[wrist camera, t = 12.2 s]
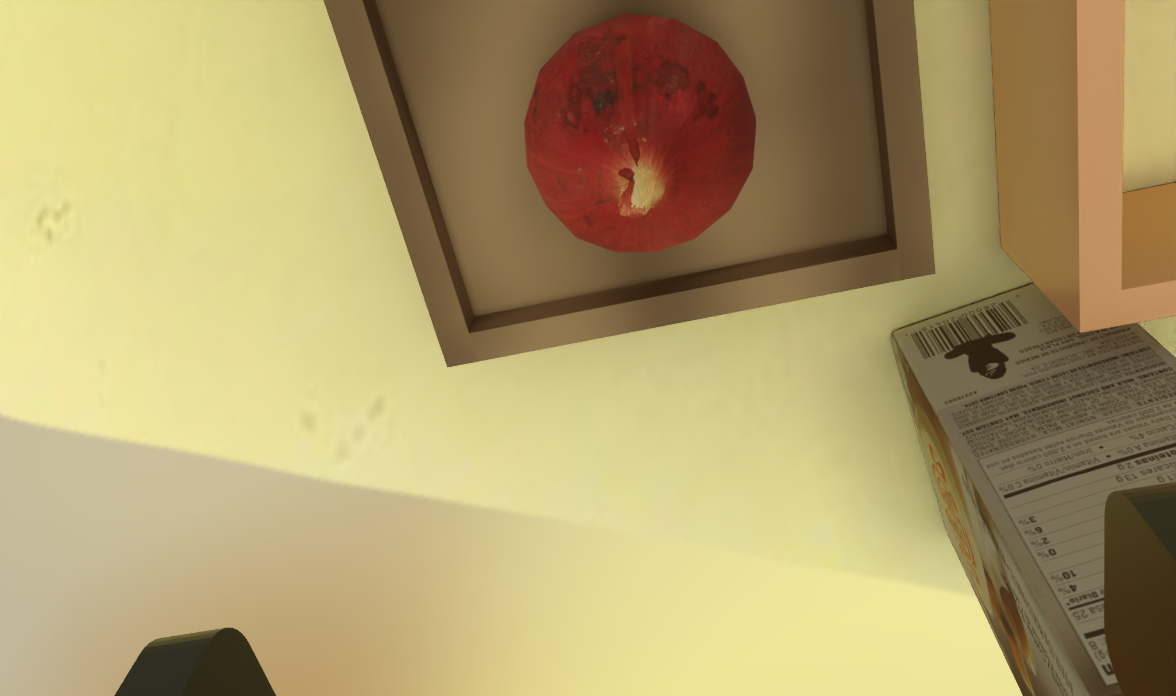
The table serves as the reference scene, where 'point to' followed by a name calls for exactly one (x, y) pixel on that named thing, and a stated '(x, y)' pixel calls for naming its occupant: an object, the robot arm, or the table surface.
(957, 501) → the coffee box
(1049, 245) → the open pink storage bin
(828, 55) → the walnut tray
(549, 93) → the onion
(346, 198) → the table surface
